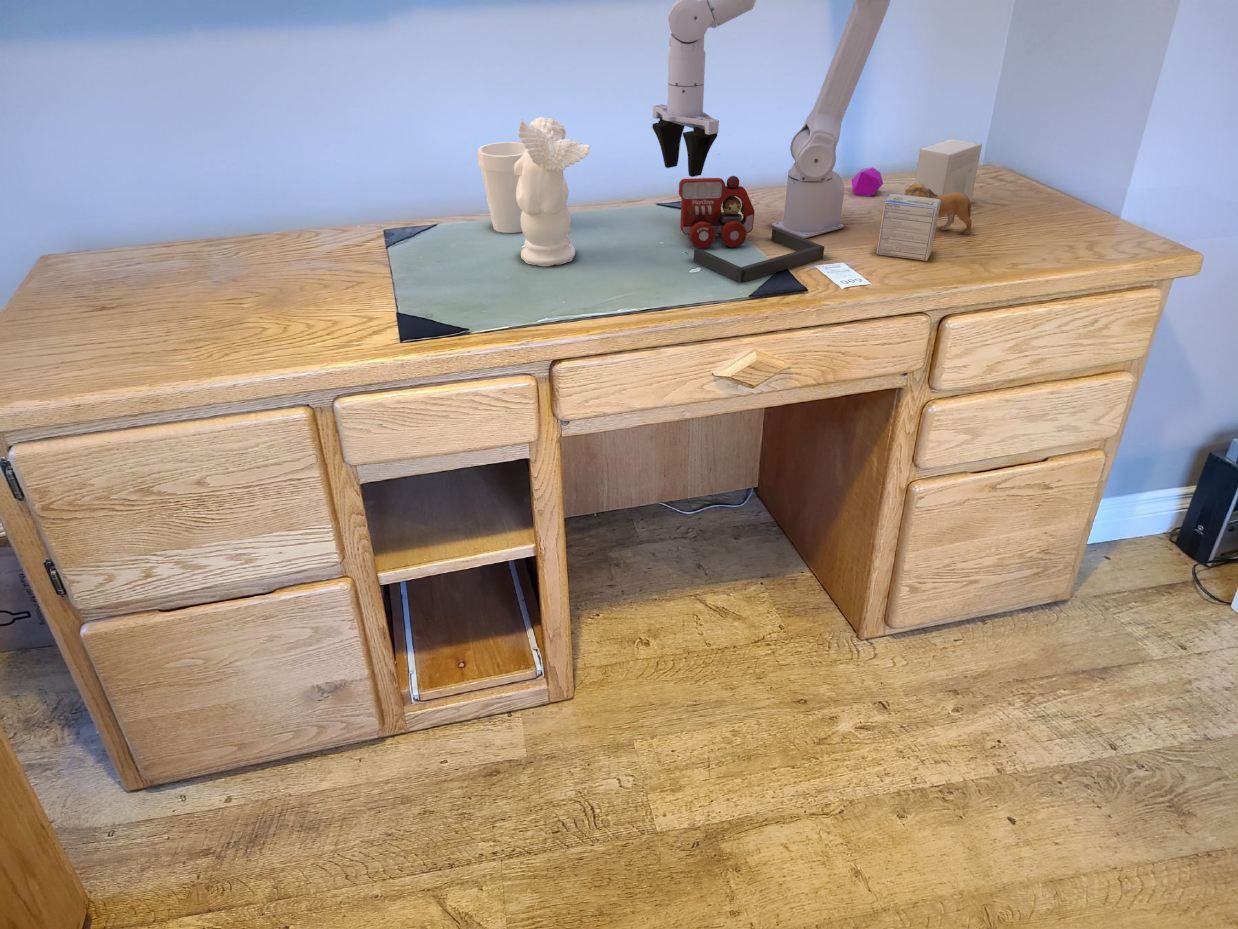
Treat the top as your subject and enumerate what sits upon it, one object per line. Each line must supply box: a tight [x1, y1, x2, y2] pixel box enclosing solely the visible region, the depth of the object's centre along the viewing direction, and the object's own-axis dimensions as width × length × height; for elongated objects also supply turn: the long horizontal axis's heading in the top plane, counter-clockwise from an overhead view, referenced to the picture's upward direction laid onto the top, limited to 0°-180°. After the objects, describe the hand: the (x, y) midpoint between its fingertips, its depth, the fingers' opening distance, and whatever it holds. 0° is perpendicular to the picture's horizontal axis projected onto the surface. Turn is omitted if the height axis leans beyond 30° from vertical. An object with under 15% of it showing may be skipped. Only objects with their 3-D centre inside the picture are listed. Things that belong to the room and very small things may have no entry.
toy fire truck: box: [678, 175, 755, 249], centre depth 144 cm, size 7×12×10 cm, turn 96°
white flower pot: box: [477, 141, 527, 234], centre depth 150 cm, size 10×9×13 cm
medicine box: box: [876, 193, 941, 262], centre depth 139 cm, size 8×4×9 cm, turn 65°
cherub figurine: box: [514, 116, 591, 267], centre depth 134 cm, size 12×12×22 cm
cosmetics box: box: [914, 138, 983, 204], centre depth 159 cm, size 10×6×10 cm, turn 131°
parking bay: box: [693, 227, 825, 284], centre depth 139 cm, size 17×11×2 cm, turn 125°
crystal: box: [850, 167, 884, 197], centre depth 168 cm, size 5×5×5 cm
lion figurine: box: [903, 183, 973, 235], centre depth 147 cm, size 15×5×9 cm, turn 113°
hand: (683, 171), depth 148 cm, fingers open, 6 cm apart
